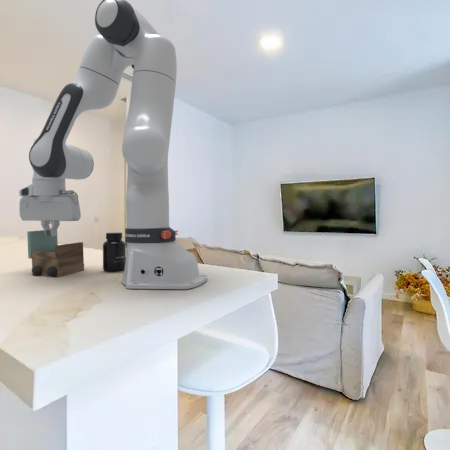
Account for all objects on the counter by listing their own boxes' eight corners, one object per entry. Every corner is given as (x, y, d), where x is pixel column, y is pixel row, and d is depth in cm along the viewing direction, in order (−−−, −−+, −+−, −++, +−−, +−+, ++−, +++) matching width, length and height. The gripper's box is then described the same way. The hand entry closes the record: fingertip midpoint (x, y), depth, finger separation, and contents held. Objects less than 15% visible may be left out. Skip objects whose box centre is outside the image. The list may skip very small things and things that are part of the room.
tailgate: (57, 253, 101) (57, 229, 101) (31, 258, 92) (29, 231, 91) (54, 253, 102) (53, 229, 101) (26, 258, 92) (25, 231, 92)
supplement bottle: (121, 272, 94) (120, 233, 94) (99, 272, 94) (98, 233, 94) (129, 268, 101) (128, 231, 100) (108, 268, 101) (107, 232, 101)
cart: (85, 269, 99) (84, 241, 99) (56, 277, 88) (55, 246, 88) (61, 268, 102) (60, 241, 102) (30, 275, 91) (28, 245, 90)
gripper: (85, 190, 95) (86, 235, 96) (32, 191, 101) (34, 234, 101) (69, 189, 89) (70, 237, 90) (14, 190, 95) (16, 235, 95)
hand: (50, 235), depth 95 cm, fingers closed
